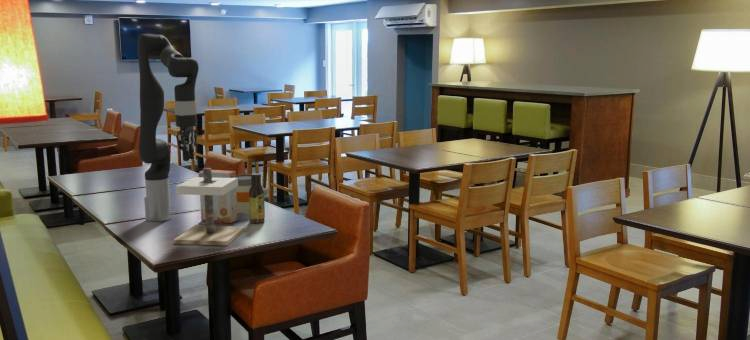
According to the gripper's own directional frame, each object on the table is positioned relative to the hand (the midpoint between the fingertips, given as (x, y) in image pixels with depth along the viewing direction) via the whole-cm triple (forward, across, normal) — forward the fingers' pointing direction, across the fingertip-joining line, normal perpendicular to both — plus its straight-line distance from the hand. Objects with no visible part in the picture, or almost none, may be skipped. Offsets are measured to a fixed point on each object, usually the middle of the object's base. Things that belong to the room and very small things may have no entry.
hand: (188, 159), depth 231 cm
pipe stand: (+29, 0, +7) cm, 30 cm away
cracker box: (+29, -23, +2) cm, 37 cm away
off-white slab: (+11, 0, +7) cm, 13 cm away
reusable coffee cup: (+29, -41, +7) cm, 51 cm away
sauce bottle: (+29, -23, +18) cm, 41 cm away
